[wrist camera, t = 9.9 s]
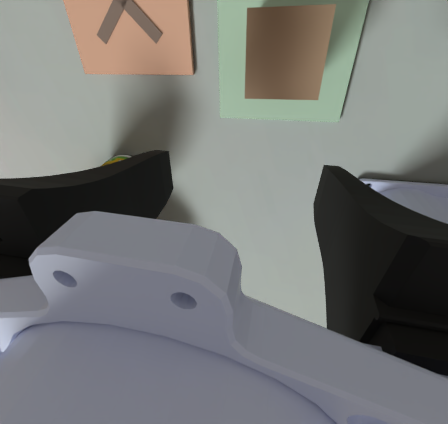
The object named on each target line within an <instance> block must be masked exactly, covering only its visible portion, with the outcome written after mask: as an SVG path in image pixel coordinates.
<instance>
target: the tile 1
mask: <svg viewBox="0 0 448 424" xmlns="http://www.w3.org/2000/svg"><path fill="white" fill-rule="evenodd" d="M63 1H64V4H65V8H66V11H67V14H68V18H69V21H70V24H71V28H72V31H73V34H74V38H75V41H76V44H77V48H78V51H79V54H80V58H81V61H82V64H83V68H84V71H85V74H148V75H194V63H193V49H192V36H191V22H190V9H189V0H63Z"/></svg>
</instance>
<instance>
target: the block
mask: <svg viewBox="0 0 448 424" xmlns="http://www.w3.org/2000/svg"><path fill="white" fill-rule="evenodd" d="M335 8H336V4H326V5H301V6H277V7H252V8H247V26H246V63H245V99H281V100H318V98H319V93H320V88H321V83H322V77H323V72H324V67H325V61H326V56H327V51H328V45H329V40H330V35H331V29H332V24H333V19H334V13H335Z"/></svg>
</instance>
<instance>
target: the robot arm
mask: <svg viewBox="0 0 448 424" xmlns="http://www.w3.org/2000/svg"><path fill="white" fill-rule="evenodd" d="M369 183H370V186H368V185H366V184H369ZM172 190H173V182H172V174H171V166H170V158H169V151H160V150H154V151H149V152H146V153H142V154H139V155H136V156H133V157H130V158H127V159H124V160H121V161H118V162H114V163H111V164H108V165H104V166H101V167H97V168H93V169H89V170H84V171H79V172H73V173H67V174H60V175H53V176H43V177H31V178H14V179H0V424H448V185H446V184H432V183H418V182H405V181H391V180H377V179H364V178H362V179H357V178H356V177H355V176H353V175H352V174H350V173H349V172H348V171H346V170H345V169H343V168H341V167H339V166H329V165H324V167H323V170H322V174H321V178H320V182H319V185H318V189H317V193H316V197H315V201H314V222H315V227H316V232H317V237H318V242H319V247H320V252H321V256H322V262H323V268H324V280H325V295H326V314H327V328H324V327H322V326H319V325H317V324H314V323H312V322H309V321H307V320H305V319H302V318H300V317H297V316H295V315H292V314H290V313H288V312H285V311H283V310H280V309H278V308H275V307H273V306H270V305H268V304H266V303H263V302H261V301H258V300H256V299H253V298H251V297H248V296H246V295H244V294H243V293H242V291H241V271H242V265H241V262H240V258H239V255H238V252H237V249H236V248H235V247H234V246H233V245H232V244H231V243H230V242H229V241H228V240H226V239H225V238H224V237H223V236H222V235H221V234H220V233H218V232H215V231H212V230H210V229H207V228H204V227H201V226H198V225H195V224H189V223H181V222H174V221H166V220H159V219H156V218H157V217H158V215H159V214H160V212H161V211H162V209H163V208H164V206H165V205H166V203H167V201H168V199H169V197H170V195H171V192H172Z"/></svg>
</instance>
